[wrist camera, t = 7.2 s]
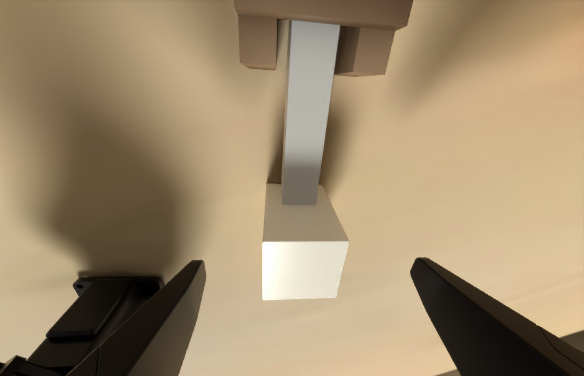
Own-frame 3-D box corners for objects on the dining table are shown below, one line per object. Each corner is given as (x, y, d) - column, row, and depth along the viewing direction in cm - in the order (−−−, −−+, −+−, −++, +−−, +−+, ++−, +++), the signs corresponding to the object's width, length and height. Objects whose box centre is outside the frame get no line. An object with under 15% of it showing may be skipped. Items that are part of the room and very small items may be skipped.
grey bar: (315, 229, 17) (335, 297, 11) (265, 229, 16) (262, 300, 11) (365, -115, 9) (511, -422, 3) (270, -132, 8) (265, -513, 3)
